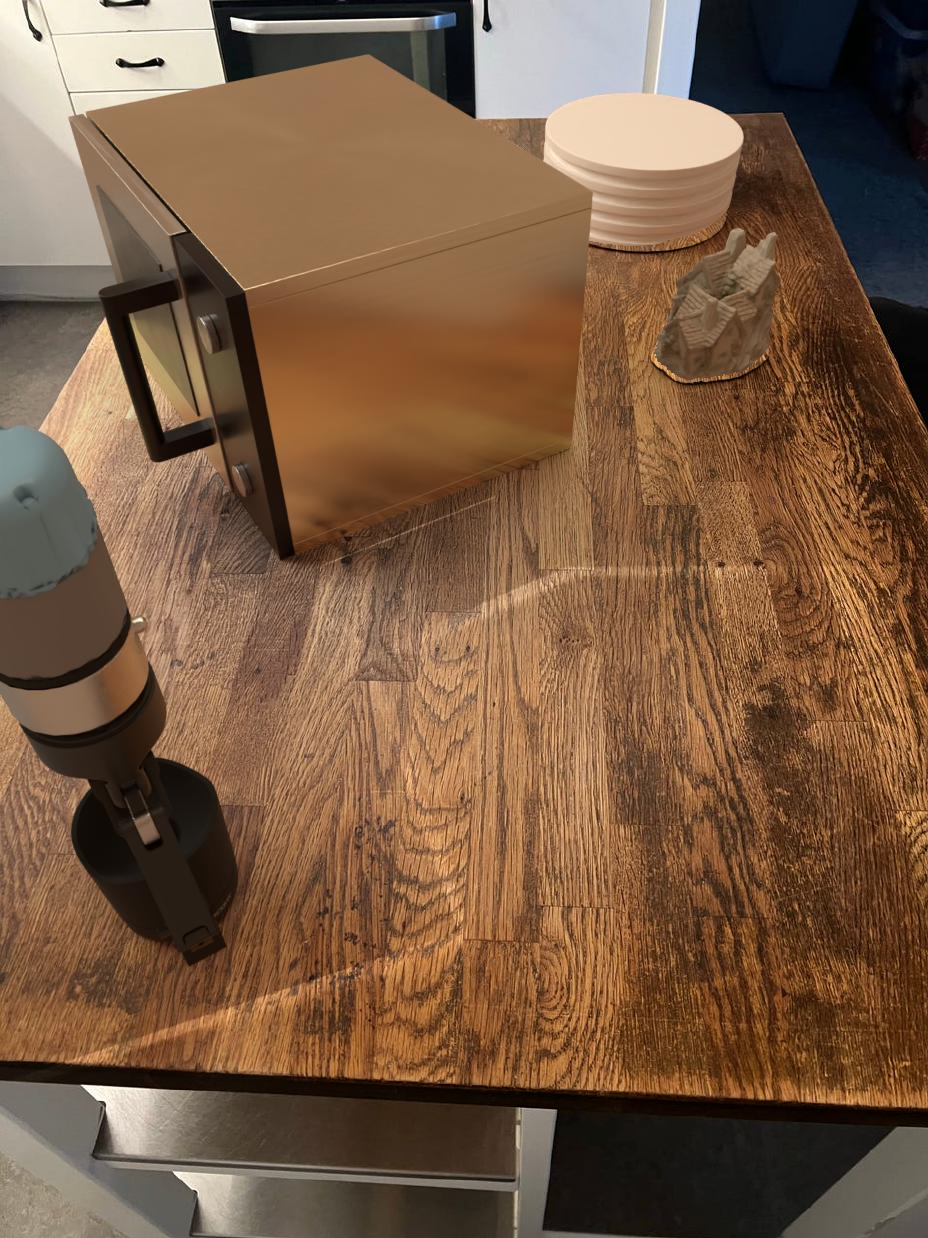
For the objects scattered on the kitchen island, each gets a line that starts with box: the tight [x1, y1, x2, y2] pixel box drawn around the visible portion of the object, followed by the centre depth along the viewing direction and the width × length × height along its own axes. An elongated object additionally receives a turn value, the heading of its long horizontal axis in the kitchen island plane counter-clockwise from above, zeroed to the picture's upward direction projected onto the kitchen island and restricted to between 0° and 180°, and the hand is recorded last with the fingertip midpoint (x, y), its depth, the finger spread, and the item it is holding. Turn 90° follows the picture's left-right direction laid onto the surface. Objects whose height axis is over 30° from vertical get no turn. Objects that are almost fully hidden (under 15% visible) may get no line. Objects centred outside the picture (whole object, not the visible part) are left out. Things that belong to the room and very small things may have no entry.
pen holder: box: [70, 756, 239, 943], centre depth 67 cm, size 9×9×10 cm
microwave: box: [85, 53, 593, 561], centre depth 102 cm, size 35×44×28 cm
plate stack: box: [542, 92, 745, 246], centre depth 141 cm, size 28×28×12 cm
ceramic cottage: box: [652, 227, 782, 380], centre depth 114 cm, size 16×16×15 cm
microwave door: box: [68, 113, 235, 492], centre depth 99 cm, size 8×32×28 cm, turn 31°
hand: (172, 873), depth 69 cm, fingers open, 13 cm apart
